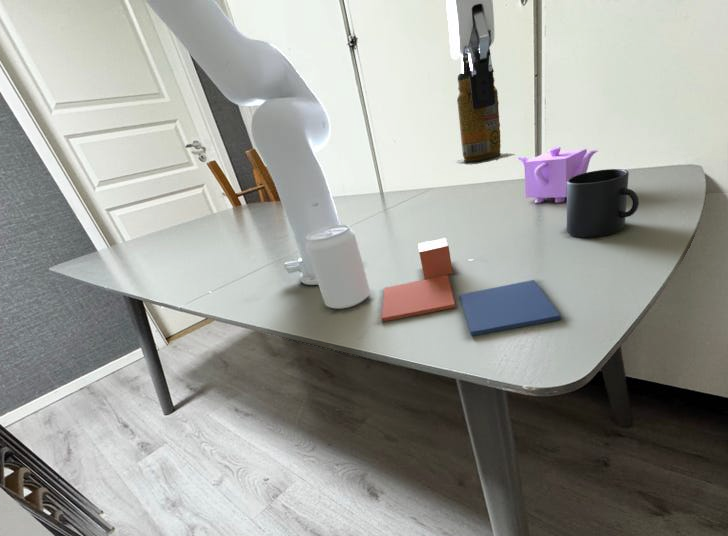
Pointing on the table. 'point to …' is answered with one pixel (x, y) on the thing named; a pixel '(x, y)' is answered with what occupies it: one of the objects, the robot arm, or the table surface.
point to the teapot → (553, 172)
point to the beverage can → (338, 266)
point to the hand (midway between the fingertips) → (479, 106)
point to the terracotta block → (435, 258)
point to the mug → (598, 202)
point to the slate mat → (507, 308)
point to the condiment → (478, 126)
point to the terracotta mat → (417, 298)
